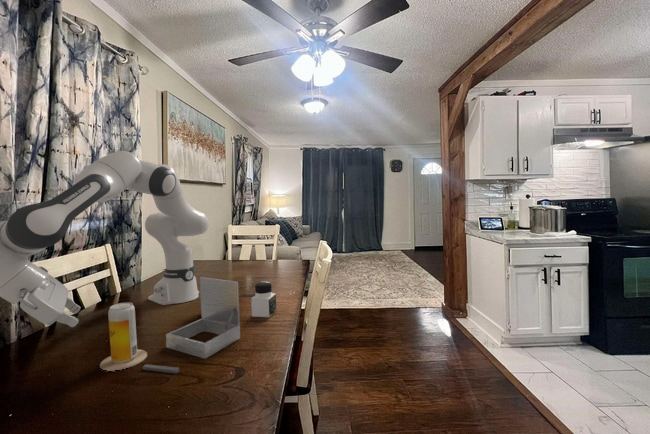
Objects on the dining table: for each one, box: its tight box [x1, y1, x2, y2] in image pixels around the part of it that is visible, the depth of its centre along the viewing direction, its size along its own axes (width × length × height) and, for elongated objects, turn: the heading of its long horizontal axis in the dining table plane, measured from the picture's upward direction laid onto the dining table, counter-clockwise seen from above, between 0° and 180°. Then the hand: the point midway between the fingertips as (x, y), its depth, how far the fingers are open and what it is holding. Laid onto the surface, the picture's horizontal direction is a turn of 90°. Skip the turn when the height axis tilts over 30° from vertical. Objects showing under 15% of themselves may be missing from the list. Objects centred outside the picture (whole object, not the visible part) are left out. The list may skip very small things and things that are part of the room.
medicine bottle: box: [250, 281, 277, 318], centre depth 119 cm, size 7×7×12 cm
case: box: [165, 276, 241, 359], centre depth 96 cm, size 16×14×18 cm
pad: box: [99, 348, 148, 372], centre depth 86 cm, size 11×11×1 cm
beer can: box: [107, 302, 138, 364], centre depth 86 cm, size 6×6×15 cm
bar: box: [142, 364, 180, 375], centre depth 81 cm, size 10×1×1 cm, turn 78°
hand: (77, 317), depth 81 cm, fingers open, 8 cm apart
